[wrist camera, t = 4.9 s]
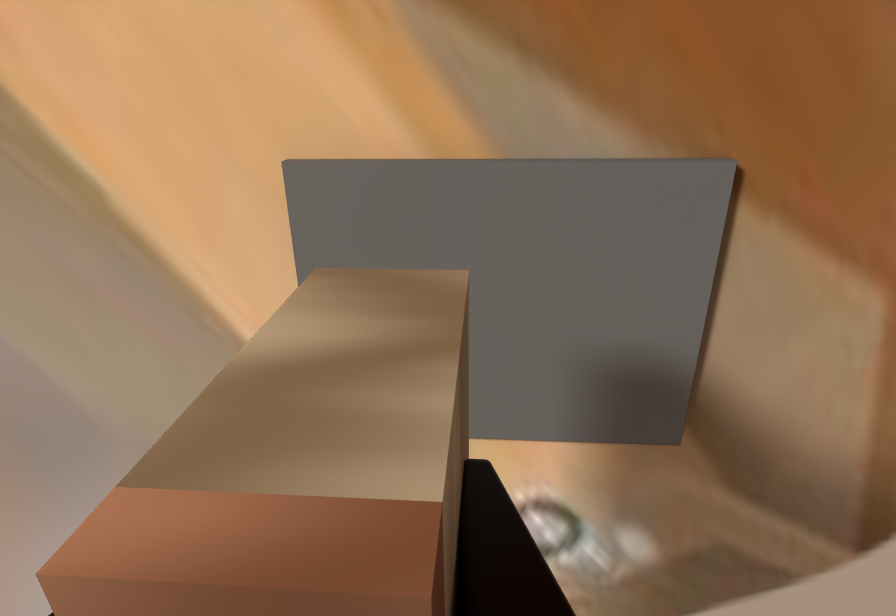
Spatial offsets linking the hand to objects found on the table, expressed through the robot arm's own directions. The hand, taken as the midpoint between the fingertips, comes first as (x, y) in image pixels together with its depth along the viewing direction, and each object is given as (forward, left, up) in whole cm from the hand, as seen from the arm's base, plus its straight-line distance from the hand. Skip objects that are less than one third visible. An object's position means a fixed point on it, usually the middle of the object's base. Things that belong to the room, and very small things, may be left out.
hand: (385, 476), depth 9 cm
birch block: (0, 0, -2) cm, 2 cm away
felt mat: (-2, +1, -8) cm, 8 cm away
